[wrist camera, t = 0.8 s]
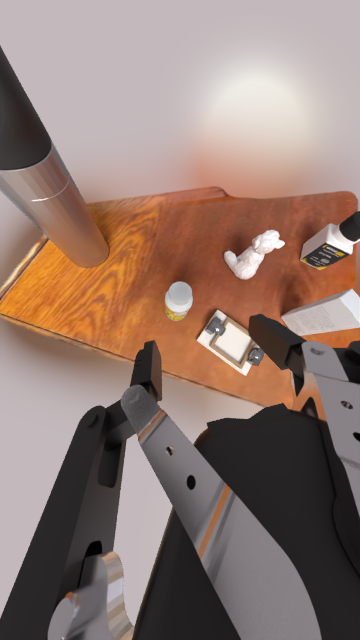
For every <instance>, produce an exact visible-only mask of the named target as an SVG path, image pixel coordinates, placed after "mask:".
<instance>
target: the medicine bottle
mask: <svg viewBox="0 0 360 640" xmlns="http://www.w3.org/2000/svg"><path fill="white" fill-rule="evenodd" d="M358 241H360V211H359V212H356V213H354V214H353V215H351V216H350V217H349V218H347V219H346V220H345V221H343V222H342V223H341V224H339V225H338V226H336V225H334V224H331V223H330V224H328V225H327V226H326V227H325V228H323V229H322V230H321V231H319V232H318V233H317V234H316V235H314V236H313V237H312V238H311V239H309V240H308V241H307V242H305V243H304V244H303V248H302V253H301V257H300V261H302V262H304V263H306V264H308V265H311V266H313V267H315V268H317V269H319V270H322V269H324V268H326V267H327V266H329V265H331V264H333V263H335V262H337V261H339V260H341V259H342V258H344V257H346V256H348V255H350V254H352V252H353V244H355V243H356V242H358Z"/></svg>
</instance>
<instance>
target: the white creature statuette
mask: <svg viewBox="0 0 360 640" xmlns="http://www.w3.org/2000/svg"><path fill="white" fill-rule="evenodd" d="M279 236H280V235H279V234H278V232H277V231H274V230H270V231H266V232H265V233H263V234H261V235H258V236H257V237H256V238H254V239H253V240H252V246H250V247H249V248H248V249H246V250H245V251H244V252H243V253H242V255H239V256H238V257H236V255H235V254H234V253H233V252H231V251H228V252H225V254H224V259H225V261H226V263H227V264H228V266H229V268H230V269H231V270H232V271H233V272H234V274H235V276H236V277H238V278H240V279H249V278H251V277H252V276H253V275H254V274H255V273H256V270H257V269H258V266H259V264H260V263H261V262H262V260H263V259H264V258H263V257H264V256H265V255H264V254H266V253H269V252H271V251H272V250H273V249H274V248H277V249H279V248H281V247H282V246H283V245H284V244H285V242H283V241H281V240H279Z"/></svg>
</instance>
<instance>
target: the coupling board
mask: <svg viewBox="0 0 360 640" xmlns="http://www.w3.org/2000/svg"><path fill="white" fill-rule="evenodd" d="M216 316H217V317H218V318H220V319H221V320H222V322H221V323H220V324H221V325H223V326H224V327H225V328H226V331H225V332H224V334H223V335H222V336H220V337H219V336H218V335H216V334H215V333H214V334H211V335H210V334H208V333H207V332H206V331H205V329H206V328H207V326H208V325H209V323H210V322H211V320H212V319H213V318H214V317H216ZM197 341H198V342H199V343H201V344H202V345H203V346H205V347H206V348H208V349H209V350H210V351H212V352H213V353H214V354H216V355H217V356H218V357H220V358H221V359H222V360H224V361H225V362H226V363H228V364H229V365H231V366H232V367H233V368H235V369H236V370H237V371H239V372H240V373H241V374H243V375H245V376H246V375H247V373H248V371H249V369H250V367H251V364H249V363H248V362H247V359H248V355H249V353H250V351H251V350H252V348H259V346H258V345H257V344H256V343H255V342H254V341H253V340H252V339H251V338H250V336H249V333H248V331H247V330H246V329H245V328H243V327H242V326H240V325H239V324H238V323H236V322H235V321H233V320H232V319H231V318H229V317H227V316H226V315H225V314H223V313H222V312H220V311H219V310H217V311H216V312H215V313H214V315H213V316H212V318H211V319H210V321H209V322H208V324H207V325H206V327H205V328H204V330H203V331H202V333H201V334H200V336H199V337H198V338H197Z"/></svg>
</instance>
